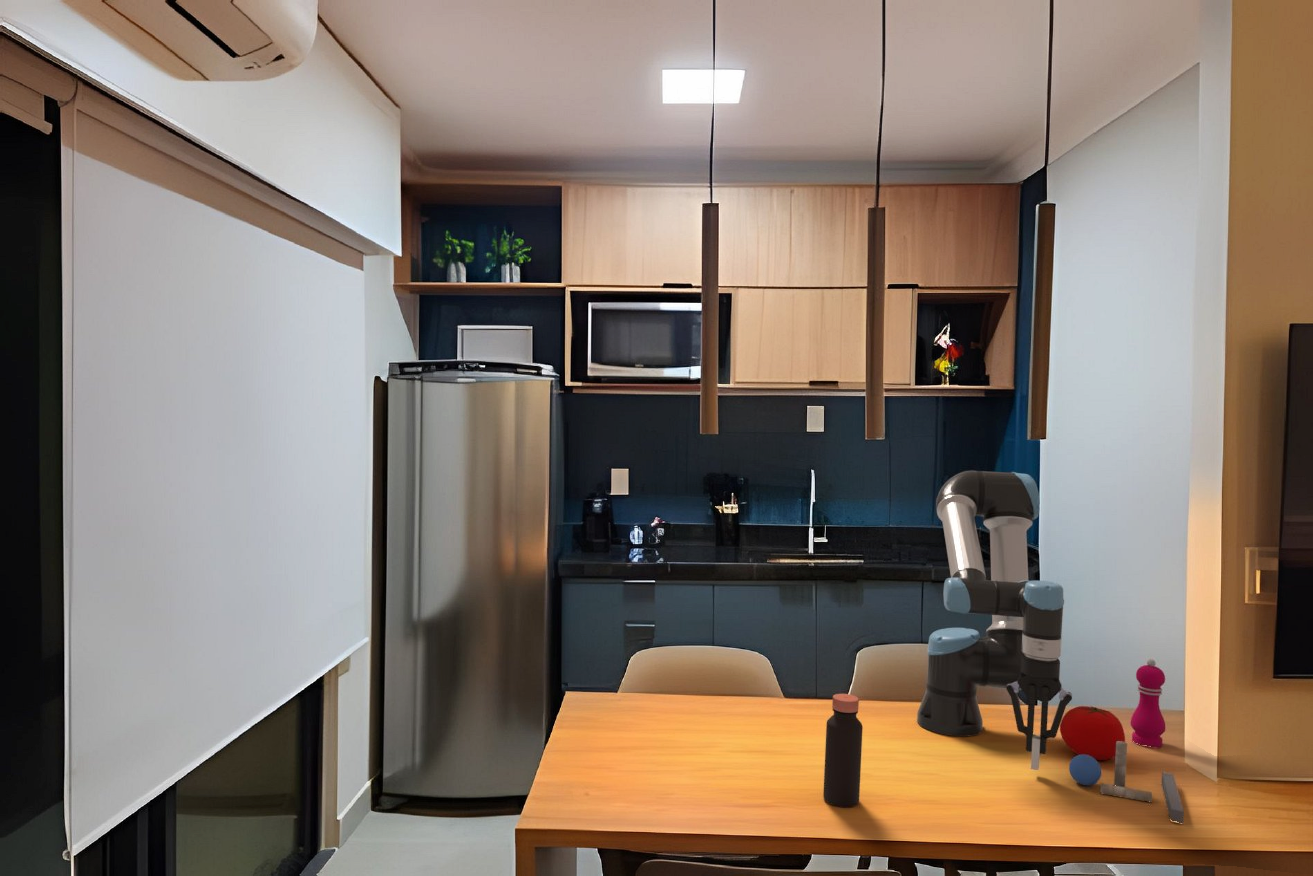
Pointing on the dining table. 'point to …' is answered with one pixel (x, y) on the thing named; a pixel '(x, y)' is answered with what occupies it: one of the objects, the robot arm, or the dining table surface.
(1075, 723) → the tomato
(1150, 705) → the pepper mill
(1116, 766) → the pin
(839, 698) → the bottle
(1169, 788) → the grey square rod
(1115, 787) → the pin
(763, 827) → the dining table surface
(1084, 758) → the ball
